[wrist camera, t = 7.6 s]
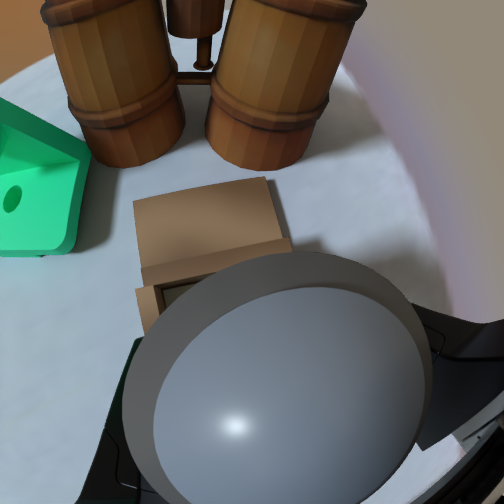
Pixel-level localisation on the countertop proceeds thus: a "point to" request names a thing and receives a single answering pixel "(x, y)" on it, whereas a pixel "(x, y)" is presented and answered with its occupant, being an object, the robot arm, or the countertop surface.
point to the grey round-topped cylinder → (279, 385)
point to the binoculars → (199, 74)
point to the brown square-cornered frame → (200, 237)
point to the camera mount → (38, 184)
